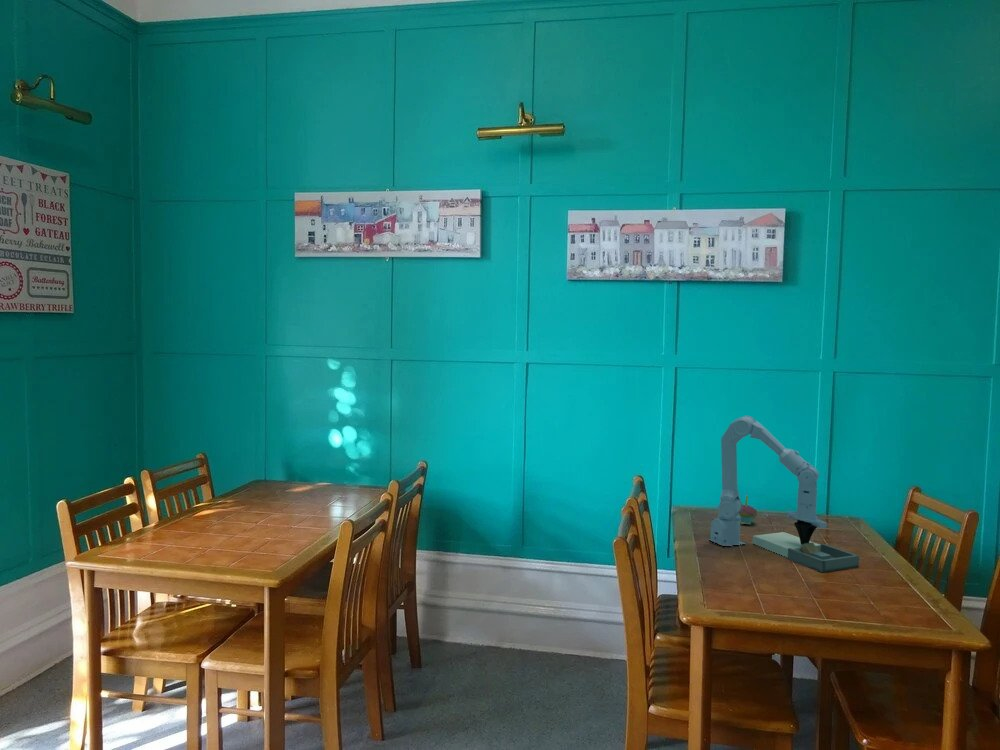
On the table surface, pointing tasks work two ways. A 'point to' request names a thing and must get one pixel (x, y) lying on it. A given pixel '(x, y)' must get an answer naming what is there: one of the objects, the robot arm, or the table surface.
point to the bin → (837, 561)
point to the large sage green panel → (780, 542)
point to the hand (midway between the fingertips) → (804, 544)
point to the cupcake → (747, 513)
